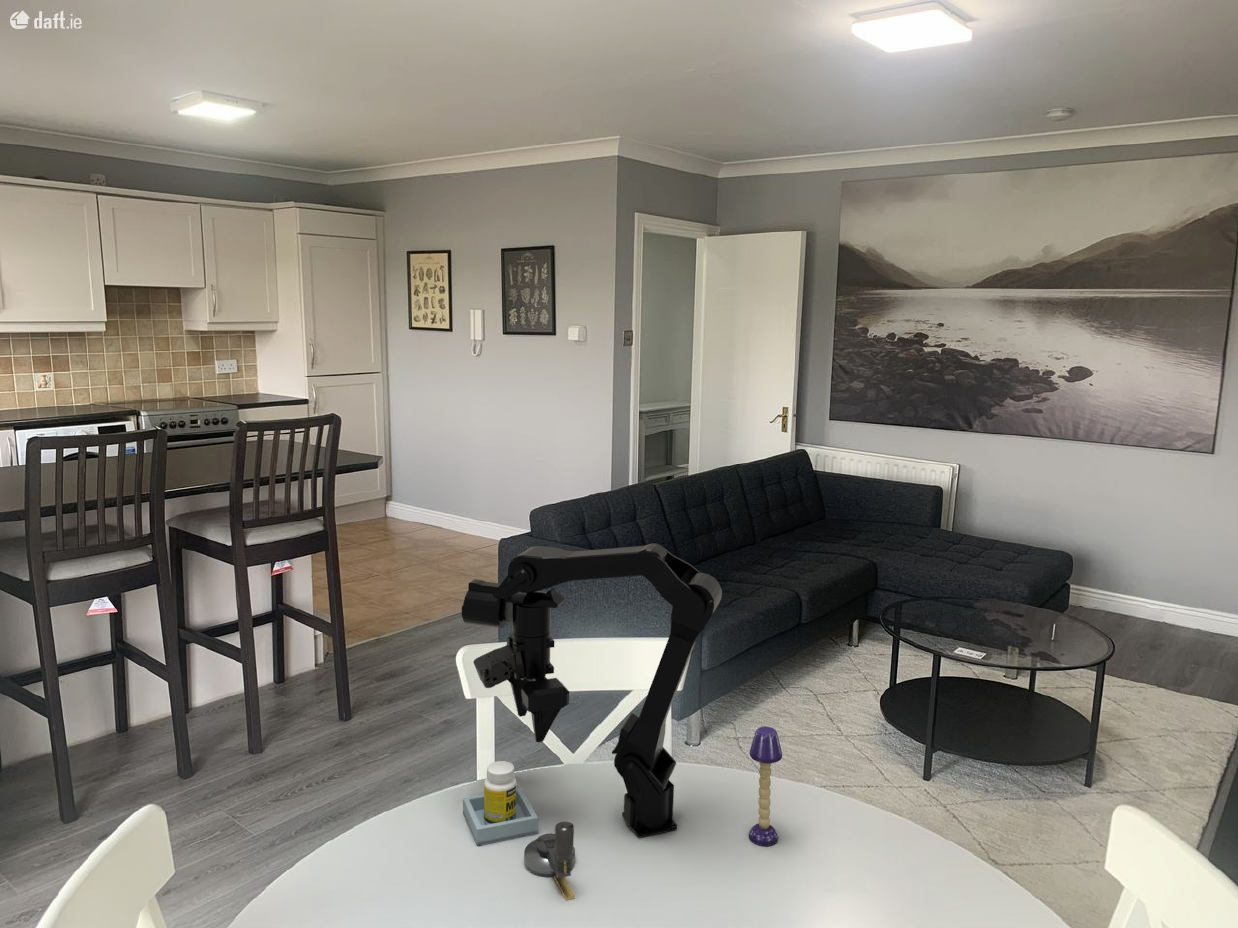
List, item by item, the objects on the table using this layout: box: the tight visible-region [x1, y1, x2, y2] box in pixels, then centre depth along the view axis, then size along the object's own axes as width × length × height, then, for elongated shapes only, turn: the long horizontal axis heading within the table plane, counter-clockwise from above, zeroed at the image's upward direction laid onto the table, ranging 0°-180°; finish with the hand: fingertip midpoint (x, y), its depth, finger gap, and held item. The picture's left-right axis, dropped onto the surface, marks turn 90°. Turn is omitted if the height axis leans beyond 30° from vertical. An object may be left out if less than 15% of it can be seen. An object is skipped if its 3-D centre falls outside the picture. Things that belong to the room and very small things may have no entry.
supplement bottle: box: [483, 760, 517, 825], centre depth 133 cm, size 5×5×8 cm
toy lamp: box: [748, 725, 783, 847], centre depth 131 cm, size 5×5×17 cm
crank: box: [536, 821, 575, 878], centre depth 121 cm, size 10×4×7 cm, turn 21°
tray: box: [462, 787, 539, 847], centre depth 133 cm, size 9×9×2 cm
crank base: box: [523, 838, 576, 901], centre depth 122 cm, size 7×12×2 cm, turn 22°
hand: (530, 728), depth 138 cm, fingers open, 9 cm apart
